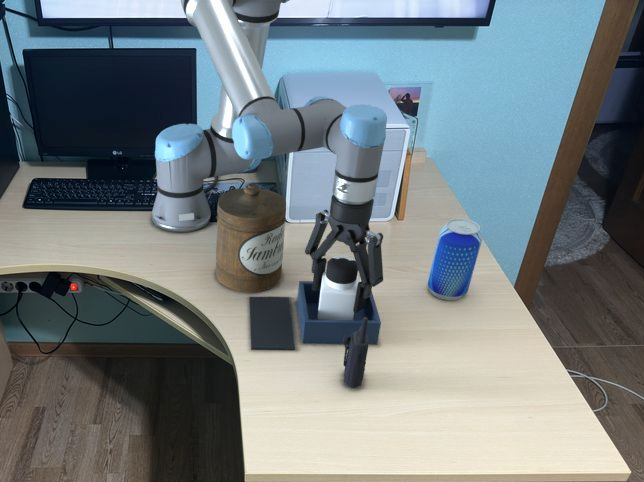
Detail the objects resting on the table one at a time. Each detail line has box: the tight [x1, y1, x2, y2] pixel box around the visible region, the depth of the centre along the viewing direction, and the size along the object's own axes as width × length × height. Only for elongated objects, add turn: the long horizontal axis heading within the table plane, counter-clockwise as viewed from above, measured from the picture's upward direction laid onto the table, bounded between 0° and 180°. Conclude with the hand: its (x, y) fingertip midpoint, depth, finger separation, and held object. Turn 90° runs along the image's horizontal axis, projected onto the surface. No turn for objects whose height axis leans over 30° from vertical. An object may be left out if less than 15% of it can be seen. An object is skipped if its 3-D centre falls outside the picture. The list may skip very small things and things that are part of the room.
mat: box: [249, 296, 296, 351], centre depth 138 cm, size 18×8×1 cm, turn 177°
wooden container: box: [215, 183, 287, 293], centre depth 146 cm, size 15×15×22 cm
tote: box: [296, 280, 382, 345], centre depth 137 cm, size 15×15×5 cm
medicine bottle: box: [317, 255, 360, 320], centre depth 133 cm, size 7×7×12 cm
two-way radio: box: [342, 317, 370, 388], centre depth 119 cm, size 6×4×15 cm
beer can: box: [427, 217, 483, 301], centre depth 142 cm, size 8×8×16 cm
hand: (337, 298), depth 135 cm, fingers closed on medicine bottle, 10 cm apart
